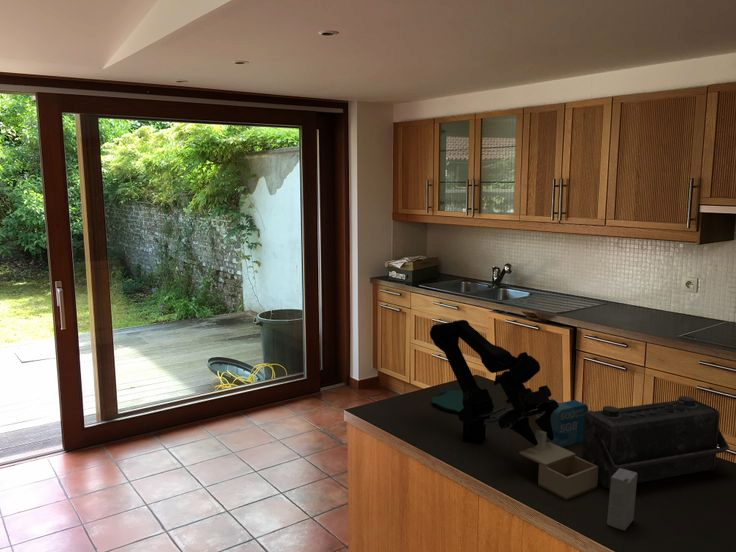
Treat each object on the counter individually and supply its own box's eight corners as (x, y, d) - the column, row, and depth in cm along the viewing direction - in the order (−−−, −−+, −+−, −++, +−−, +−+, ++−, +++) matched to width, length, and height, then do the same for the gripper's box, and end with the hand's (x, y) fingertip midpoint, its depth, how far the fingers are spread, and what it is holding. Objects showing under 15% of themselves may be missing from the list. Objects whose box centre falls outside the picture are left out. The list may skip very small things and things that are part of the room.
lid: (519, 453, 165) (520, 433, 164) (549, 443, 171) (549, 424, 170) (545, 466, 157) (546, 445, 156) (575, 455, 164) (576, 435, 163)
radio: (685, 454, 179) (691, 388, 176) (728, 476, 165) (735, 405, 162) (575, 472, 167) (579, 402, 164) (611, 498, 154) (616, 422, 151)
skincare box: (615, 514, 146) (618, 466, 144) (634, 521, 143) (638, 472, 141) (605, 525, 141) (609, 475, 139) (626, 532, 138) (629, 482, 137)
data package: (556, 448, 182) (558, 410, 180) (546, 443, 186) (547, 405, 184) (586, 441, 187) (588, 403, 185) (575, 435, 191) (577, 399, 189)
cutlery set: (456, 391, 232) (456, 385, 231) (526, 414, 210) (526, 408, 210) (421, 405, 218) (421, 399, 217) (492, 431, 197) (493, 424, 196)
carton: (538, 485, 160) (539, 464, 159) (568, 473, 166) (569, 453, 165) (566, 500, 152) (567, 478, 151) (597, 487, 159) (598, 466, 158)
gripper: (507, 382, 161) (538, 437, 154) (555, 371, 171) (586, 421, 164) (485, 402, 169) (513, 455, 162) (532, 390, 179) (561, 439, 172)
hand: (544, 442), depth 165 cm, fingers open, 6 cm apart
